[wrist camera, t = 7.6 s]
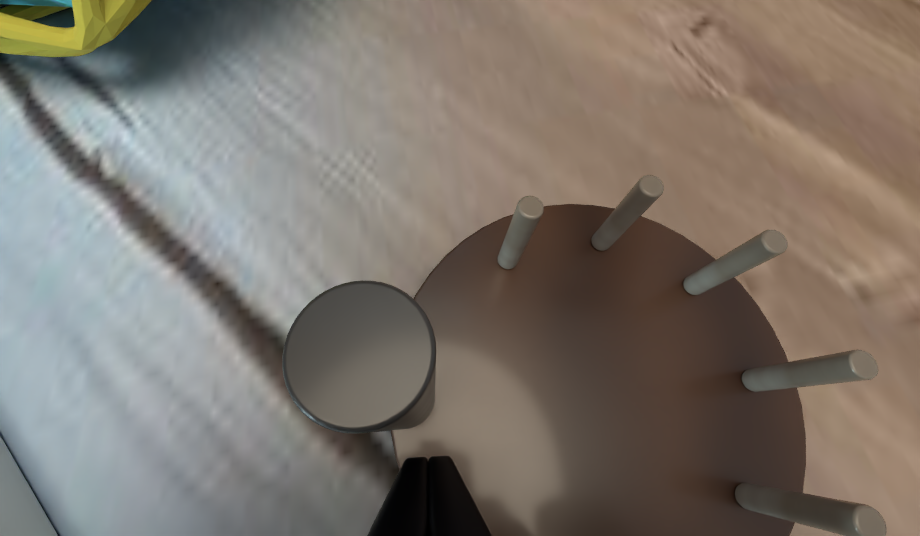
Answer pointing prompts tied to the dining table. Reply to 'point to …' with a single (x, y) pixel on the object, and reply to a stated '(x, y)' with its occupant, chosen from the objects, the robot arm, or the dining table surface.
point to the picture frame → (19, 502)
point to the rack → (583, 378)
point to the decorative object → (96, 22)
